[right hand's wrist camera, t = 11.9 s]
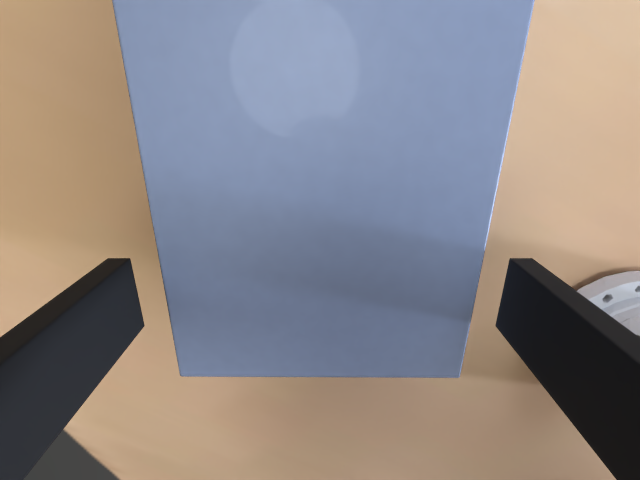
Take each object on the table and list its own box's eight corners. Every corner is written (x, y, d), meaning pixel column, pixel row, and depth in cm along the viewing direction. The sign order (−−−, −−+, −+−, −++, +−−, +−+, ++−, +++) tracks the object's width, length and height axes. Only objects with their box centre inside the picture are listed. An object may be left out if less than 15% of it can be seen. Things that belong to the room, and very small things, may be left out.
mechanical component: (726, 285, 22) (577, 253, 21) (819, 329, 18) (640, 291, 17) (637, 404, 25) (508, 380, 25) (697, 463, 21) (545, 437, 21)
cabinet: (186, -172, 14) (16, -515, 6) (459, -169, 14) (637, -507, 6) (230, 274, 22) (179, 377, 14) (408, 275, 22) (460, 378, 14)
